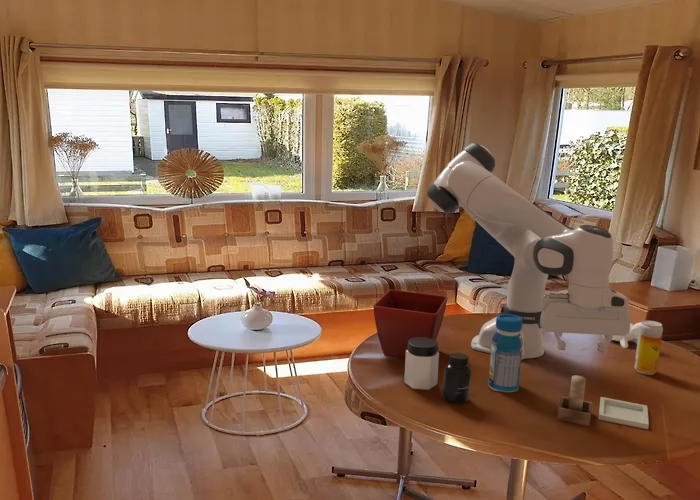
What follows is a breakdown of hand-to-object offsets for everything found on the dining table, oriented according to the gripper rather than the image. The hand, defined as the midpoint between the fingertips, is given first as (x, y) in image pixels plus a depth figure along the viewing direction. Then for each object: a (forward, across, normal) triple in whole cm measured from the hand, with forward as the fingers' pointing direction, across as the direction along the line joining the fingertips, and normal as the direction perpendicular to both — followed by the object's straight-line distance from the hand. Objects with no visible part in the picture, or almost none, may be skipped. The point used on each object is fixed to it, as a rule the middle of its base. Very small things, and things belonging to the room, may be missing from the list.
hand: (581, 350), depth 149 cm
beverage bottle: (+18, -14, +16) cm, 28 cm away
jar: (+18, -37, +15) cm, 44 cm away
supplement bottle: (+18, -28, +7) cm, 34 cm away
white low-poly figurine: (+18, +33, +57) cm, 68 cm away
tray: (+18, +13, +2) cm, 22 cm away
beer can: (+18, +30, +33) cm, 48 cm away
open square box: (+18, 0, 0) cm, 18 cm away
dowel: (+17, 0, 0) cm, 17 cm away
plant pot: (+18, -40, +38) cm, 57 cm away
